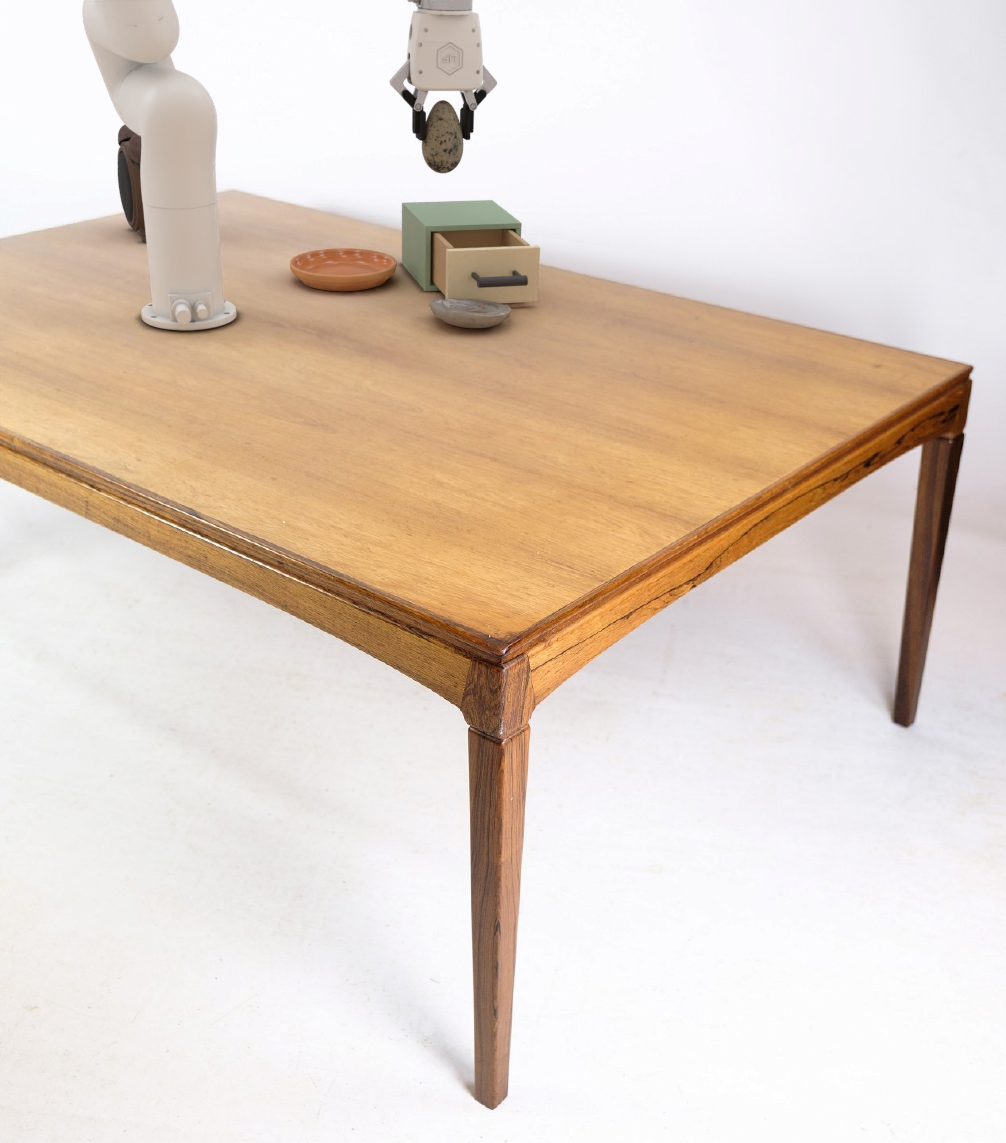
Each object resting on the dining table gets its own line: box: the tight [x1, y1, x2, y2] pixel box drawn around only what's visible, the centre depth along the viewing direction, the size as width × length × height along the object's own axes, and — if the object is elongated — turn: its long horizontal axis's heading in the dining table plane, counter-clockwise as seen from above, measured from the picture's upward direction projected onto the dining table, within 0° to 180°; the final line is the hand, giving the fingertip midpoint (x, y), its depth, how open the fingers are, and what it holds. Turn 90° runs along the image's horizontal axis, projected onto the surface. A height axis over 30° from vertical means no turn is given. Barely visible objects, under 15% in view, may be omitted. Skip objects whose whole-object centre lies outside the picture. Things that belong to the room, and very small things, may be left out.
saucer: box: [289, 247, 398, 292], centre depth 194 cm, size 16×16×3 cm
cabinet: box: [401, 199, 522, 292], centre depth 198 cm, size 16×15×10 cm
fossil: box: [428, 298, 513, 329], centre depth 177 cm, size 10×12×3 cm
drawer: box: [430, 229, 541, 304], centre depth 186 cm, size 19×13×8 cm
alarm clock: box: [117, 124, 146, 243], centre depth 210 cm, size 15×7×20 cm, turn 25°
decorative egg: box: [421, 99, 464, 174], centre depth 184 cm, size 6×6×10 cm
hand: (442, 137), depth 184 cm, fingers closed on decorative egg, 5 cm apart
